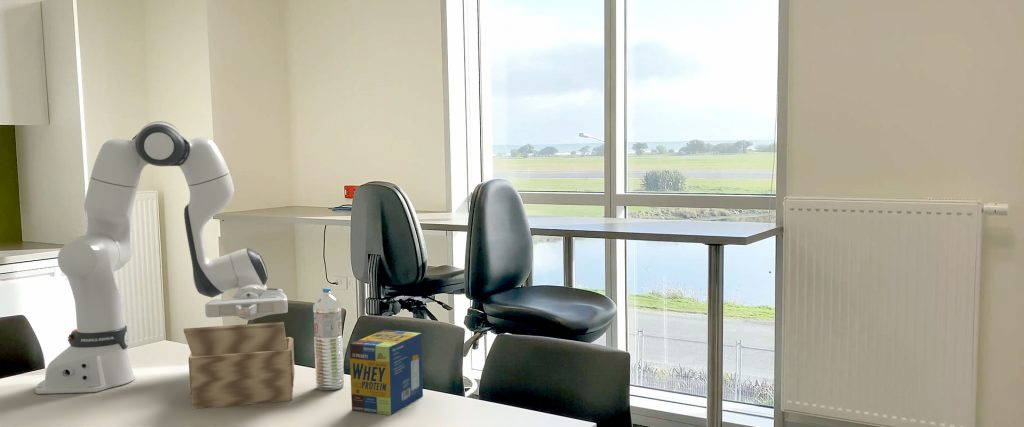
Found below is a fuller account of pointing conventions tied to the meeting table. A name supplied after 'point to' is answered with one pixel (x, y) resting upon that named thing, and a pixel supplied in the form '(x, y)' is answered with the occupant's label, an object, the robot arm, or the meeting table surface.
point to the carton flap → (236, 339)
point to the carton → (242, 378)
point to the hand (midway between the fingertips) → (244, 312)
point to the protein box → (386, 371)
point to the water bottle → (328, 342)
